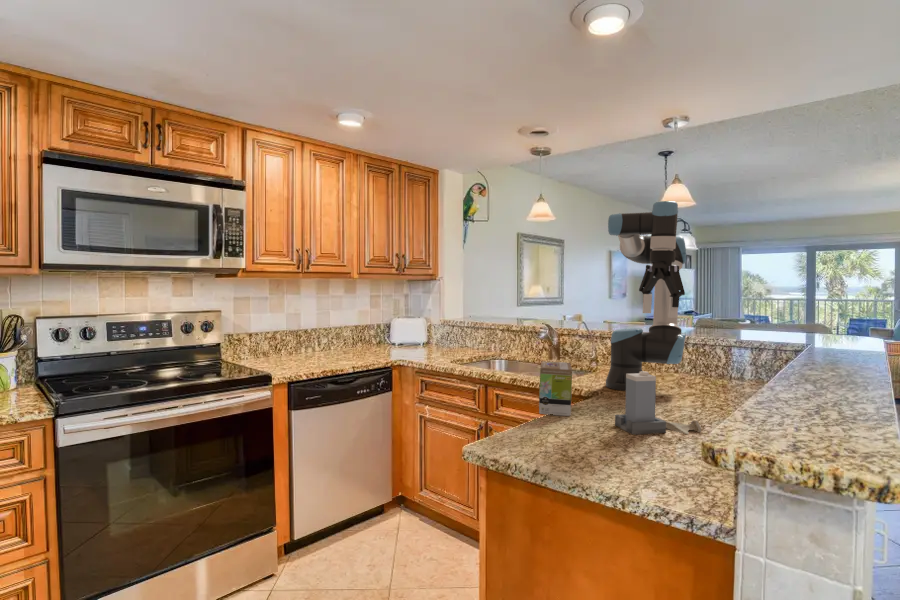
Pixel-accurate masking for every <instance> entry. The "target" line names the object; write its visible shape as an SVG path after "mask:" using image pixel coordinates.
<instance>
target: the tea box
mask: <svg viewBox="0 0 900 600" xmlns="http://www.w3.org/2000/svg"><path fill="white" fill-rule="evenodd" d="M572 382H573V367H572V364H571V362H567V361H566V362H564V361H562V362H561V361H541V362H540V369H539V388H538V389H539V391H538V409H539V411H538V413H539V414H540V415H548V416H551V415H550V414H553V415H552V416H561V417H562V416H564V417H571V413H572V390H573V388H572V386H573V385H572V384H573V383H572Z"/></svg>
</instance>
